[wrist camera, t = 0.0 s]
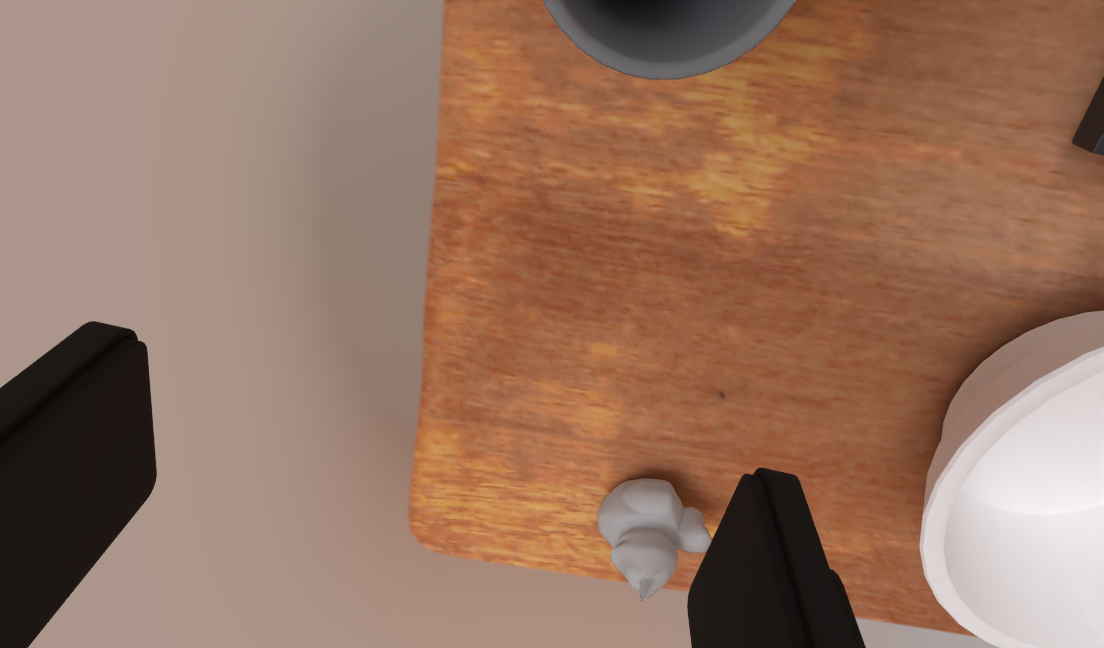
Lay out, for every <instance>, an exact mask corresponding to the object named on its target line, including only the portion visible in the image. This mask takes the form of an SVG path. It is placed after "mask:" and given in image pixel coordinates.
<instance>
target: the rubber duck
mask: <svg viewBox="0 0 1104 648" xmlns="http://www.w3.org/2000/svg"><path fill="white" fill-rule="evenodd" d="M597 522H598V528H599V530H600V532H601V533H602V535H603V536H604V538H605V539H606V540H607V541H608V543H609V544H610V545H611V546H612V547H613V550H612V552H611V554H610V557H611V560H612V562H613V564H614V565H615V566H616V567H617V569H618V570H619V571H620V572H621V573H622V574H623V575H624V576H625V577H626V579H627V581H628V582H629V584H630V585H631V586H632V587H634V588H635V589H637V590H638V591H639V592H640V597H641V601H642V600H643V598H644V597H645V598H647V599H648V598H649V597H651V596H652V595H653V594H654V593H655V592H657V591H658V590H659V589H660V588H661V587H663V586H664V585H665V584H666V583H667V581H668V580H669V579H670V578H671V576H672V574H673V573H674V570H675V568H676V565H677V562H678V554H677V551H676V549H679V550H683V551H686V552H690V553H703V552H705V551H706V550H707V549H708V548H709V546H710V544H711V536H710V533H709V532H708V530H707V529H706V528H705V526H704V523H705V520H704V516H703V514H702V513H701V511H700V510H698V509H696V508H694V507H683V506H682V503H681V500H680V498H679V497H678V495H677V494H676V492H675V490H674V488H673V486H672V485H671V483H670V482H668V481H666V480H659V479H649V478H642V479H637V480H629V481H625V482H623V483H621V484H620V485H618V486H617V487H616V488H615V489H613V490H612V491H611V492H610V493H609V494H608V495H607V496H606V497H605V498H604V500H603V502H602V504H601V505H600V508H599V511H598V520H597Z"/></svg>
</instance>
